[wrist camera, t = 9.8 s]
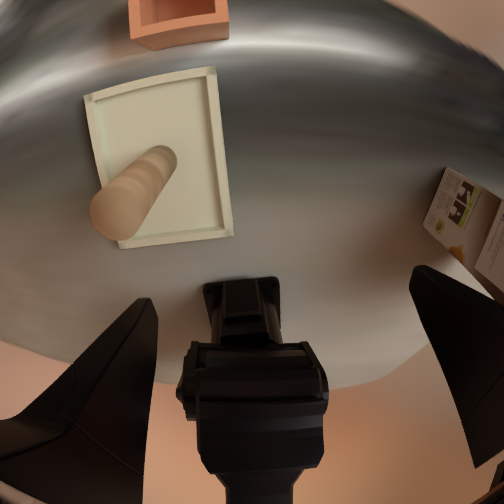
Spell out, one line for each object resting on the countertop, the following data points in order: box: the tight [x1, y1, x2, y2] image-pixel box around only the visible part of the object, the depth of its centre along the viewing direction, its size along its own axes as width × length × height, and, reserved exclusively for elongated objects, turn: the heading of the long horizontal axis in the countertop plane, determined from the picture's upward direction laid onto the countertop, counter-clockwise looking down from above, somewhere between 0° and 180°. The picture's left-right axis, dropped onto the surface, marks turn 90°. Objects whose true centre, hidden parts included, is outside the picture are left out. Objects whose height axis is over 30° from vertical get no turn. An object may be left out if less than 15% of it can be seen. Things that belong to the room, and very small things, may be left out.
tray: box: [84, 66, 234, 249], centre depth 19 cm, size 12×9×1 cm
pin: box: [89, 145, 177, 241], centre depth 15 cm, size 2×2×9 cm
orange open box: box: [128, 0, 229, 51], centre depth 11 cm, size 5×5×5 cm
